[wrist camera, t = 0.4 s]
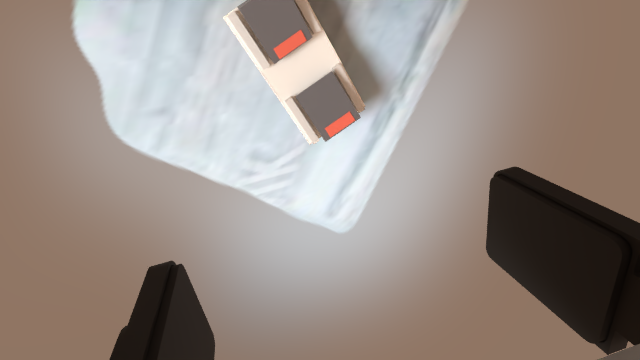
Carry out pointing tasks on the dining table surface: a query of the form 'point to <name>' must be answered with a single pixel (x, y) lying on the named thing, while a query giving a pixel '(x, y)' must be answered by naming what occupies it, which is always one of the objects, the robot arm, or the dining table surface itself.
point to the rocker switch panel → (296, 66)
